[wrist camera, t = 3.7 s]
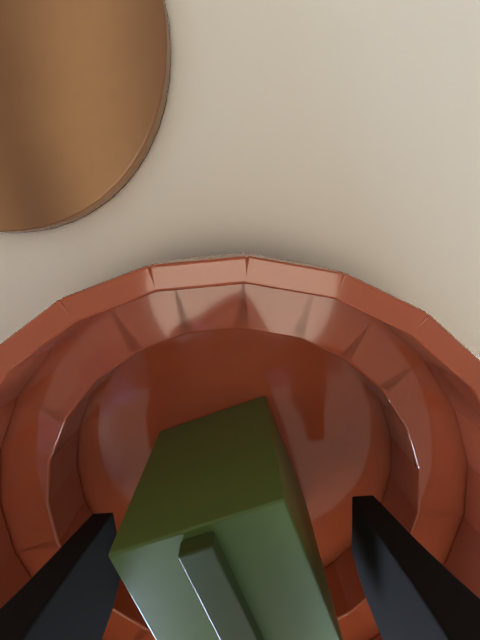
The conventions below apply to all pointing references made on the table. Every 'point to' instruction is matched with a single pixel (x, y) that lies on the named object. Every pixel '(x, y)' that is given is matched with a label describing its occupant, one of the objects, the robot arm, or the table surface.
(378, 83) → the table surface
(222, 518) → the green grooved block
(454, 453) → the bowl
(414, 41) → the table surface
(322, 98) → the table surface
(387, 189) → the table surface
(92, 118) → the coaster
